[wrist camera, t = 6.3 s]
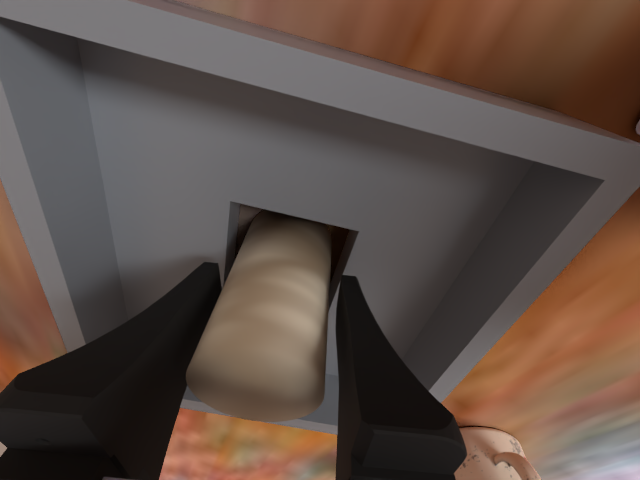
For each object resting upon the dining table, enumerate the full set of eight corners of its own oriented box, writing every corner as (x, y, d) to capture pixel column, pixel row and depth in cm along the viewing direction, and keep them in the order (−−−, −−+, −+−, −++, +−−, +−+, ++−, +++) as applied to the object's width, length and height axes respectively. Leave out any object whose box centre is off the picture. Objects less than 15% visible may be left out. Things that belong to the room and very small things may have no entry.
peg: (334, 207, 15) (328, 355, 8) (329, 274, 18) (321, 426, 11) (244, 201, 15) (170, 342, 9) (252, 269, 18) (200, 416, 11)
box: (556, 111, 12) (668, 154, 8) (390, 368, 22) (401, 445, 18) (77, -28, 10) (-93, -63, 6) (133, 318, 21) (82, 390, 16)
